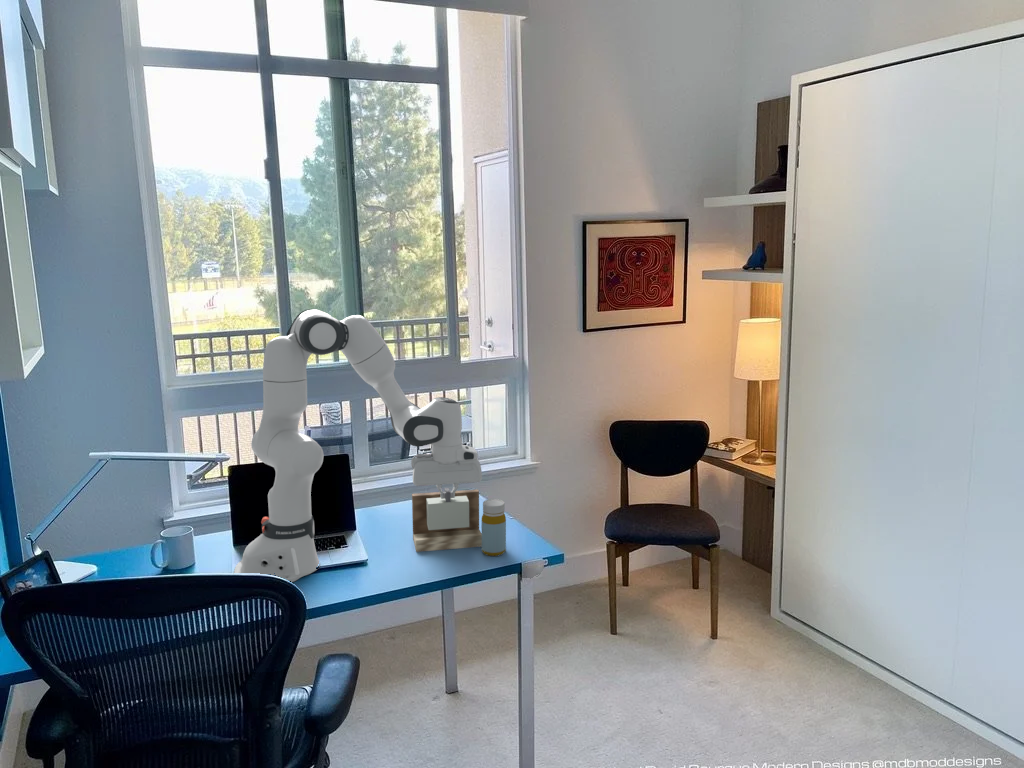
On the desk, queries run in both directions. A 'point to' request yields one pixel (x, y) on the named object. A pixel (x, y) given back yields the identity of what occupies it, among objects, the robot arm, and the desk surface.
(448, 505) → the white knobbed block
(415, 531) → the wall board
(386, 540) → the desk surface
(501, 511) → the bottle
